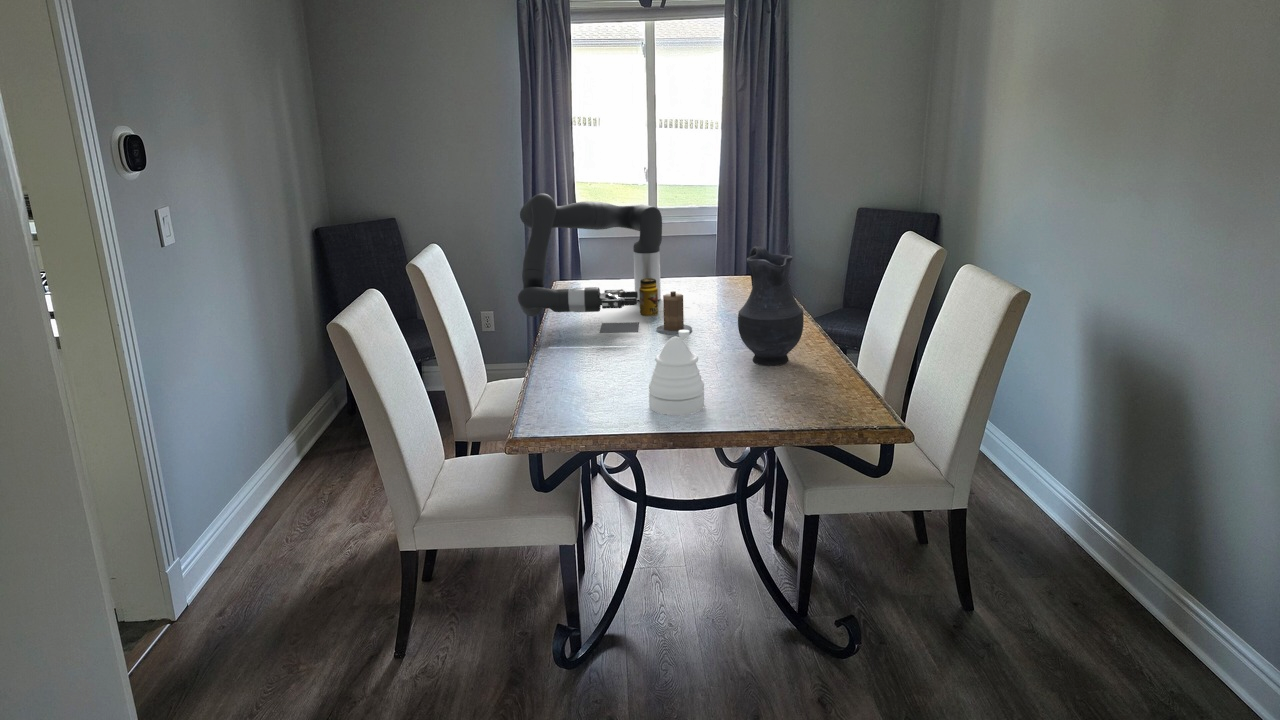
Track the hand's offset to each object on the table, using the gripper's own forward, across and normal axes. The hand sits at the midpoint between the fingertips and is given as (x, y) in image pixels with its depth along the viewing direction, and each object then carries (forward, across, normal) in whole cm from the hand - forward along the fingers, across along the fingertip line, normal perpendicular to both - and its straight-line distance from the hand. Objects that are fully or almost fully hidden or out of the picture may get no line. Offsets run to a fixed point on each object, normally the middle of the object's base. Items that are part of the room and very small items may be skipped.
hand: (637, 297), depth 258 cm
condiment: (+2, +20, +11) cm, 23 cm away
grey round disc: (+11, -1, +11) cm, 15 cm away
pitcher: (+36, -32, +11) cm, 49 cm away
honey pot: (+11, -67, +10) cm, 68 cm away
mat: (-6, +3, +10) cm, 13 cm away
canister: (+11, -1, +10) cm, 15 cm away
